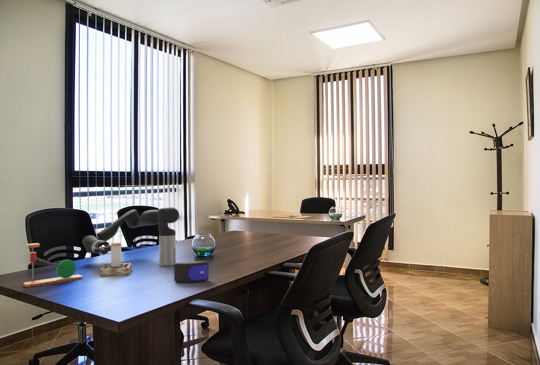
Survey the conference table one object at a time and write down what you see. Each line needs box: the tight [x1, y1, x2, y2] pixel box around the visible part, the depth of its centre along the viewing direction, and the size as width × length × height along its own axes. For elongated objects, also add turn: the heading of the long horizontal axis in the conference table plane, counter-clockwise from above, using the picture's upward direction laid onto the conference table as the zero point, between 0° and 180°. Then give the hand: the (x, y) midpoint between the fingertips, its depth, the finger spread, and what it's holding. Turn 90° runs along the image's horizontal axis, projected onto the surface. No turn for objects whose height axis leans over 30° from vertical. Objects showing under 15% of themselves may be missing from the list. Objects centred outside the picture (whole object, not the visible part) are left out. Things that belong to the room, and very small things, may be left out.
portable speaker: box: [173, 260, 210, 284], centre depth 193 cm, size 16×5×9 cm, turn 103°
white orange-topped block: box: [110, 241, 122, 267], centre depth 215 cm, size 4×4×15 cm
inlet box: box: [99, 262, 133, 277], centre depth 215 cm, size 14×14×4 cm
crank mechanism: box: [23, 242, 84, 288], centre depth 195 cm, size 25×7×19 cm, turn 134°
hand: (112, 250), depth 219 cm, fingers open, 8 cm apart
